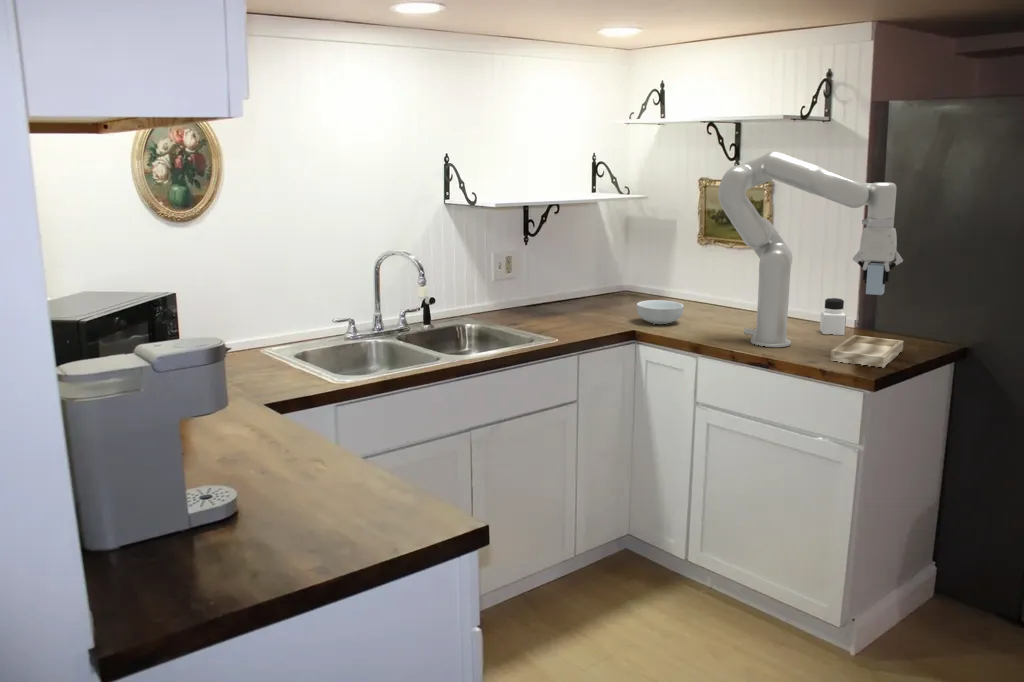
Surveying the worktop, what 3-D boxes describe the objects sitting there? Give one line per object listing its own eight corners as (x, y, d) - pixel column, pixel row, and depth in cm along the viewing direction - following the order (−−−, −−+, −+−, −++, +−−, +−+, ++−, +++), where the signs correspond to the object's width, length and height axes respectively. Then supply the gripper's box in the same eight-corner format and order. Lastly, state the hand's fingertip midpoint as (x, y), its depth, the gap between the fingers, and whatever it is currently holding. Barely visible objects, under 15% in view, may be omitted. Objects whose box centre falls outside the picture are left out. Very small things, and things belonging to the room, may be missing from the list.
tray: (830, 361, 251) (831, 350, 250) (852, 344, 271) (853, 335, 271) (883, 368, 242) (884, 357, 241) (902, 350, 263) (903, 340, 262)
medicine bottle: (844, 335, 285) (847, 300, 282) (822, 334, 286) (825, 300, 284) (841, 331, 292) (843, 297, 289) (819, 330, 293) (822, 296, 291)
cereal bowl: (632, 326, 303) (633, 306, 301) (639, 317, 318) (640, 299, 317) (680, 328, 298) (681, 309, 296) (685, 319, 313) (685, 301, 312)
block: (865, 293, 259) (867, 264, 257) (868, 291, 262) (870, 263, 260) (881, 295, 256) (883, 265, 254) (884, 292, 260) (886, 264, 258)
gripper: (848, 223, 256) (844, 283, 260) (908, 225, 247) (903, 286, 251) (853, 222, 262) (849, 279, 266) (912, 223, 253) (907, 283, 257)
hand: (875, 282), depth 259 cm, fingers closed on block, 4 cm apart
